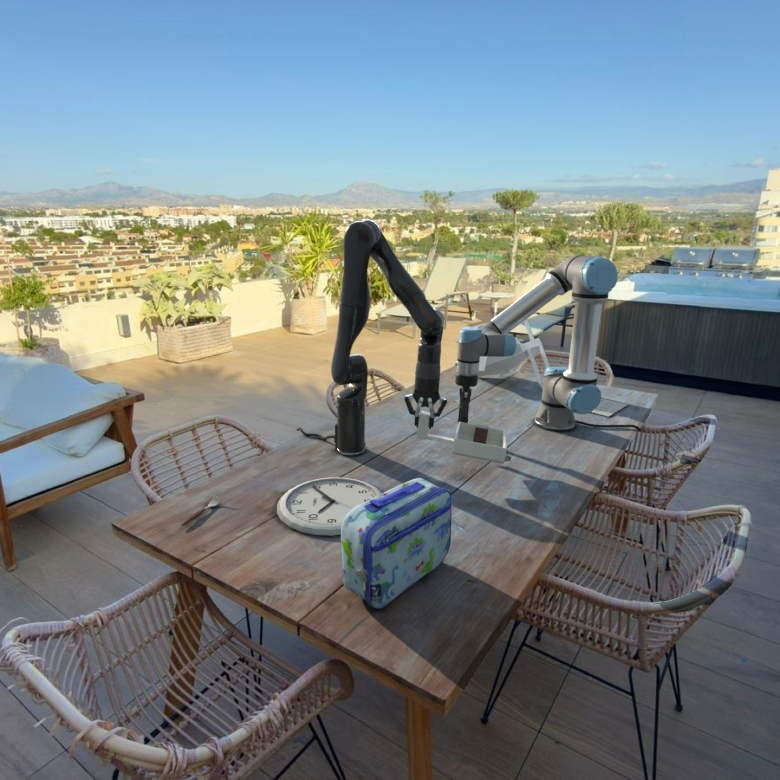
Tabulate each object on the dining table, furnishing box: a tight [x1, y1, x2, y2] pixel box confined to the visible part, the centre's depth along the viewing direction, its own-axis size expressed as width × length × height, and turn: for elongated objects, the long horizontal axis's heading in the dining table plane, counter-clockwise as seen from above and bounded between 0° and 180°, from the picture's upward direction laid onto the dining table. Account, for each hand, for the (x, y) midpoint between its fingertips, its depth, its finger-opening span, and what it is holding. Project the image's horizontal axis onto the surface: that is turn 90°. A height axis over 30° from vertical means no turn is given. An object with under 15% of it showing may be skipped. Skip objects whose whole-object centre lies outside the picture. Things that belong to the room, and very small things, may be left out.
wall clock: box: [276, 476, 383, 537], centre depth 143 cm, size 30×2×30 cm
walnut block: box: [473, 423, 489, 444], centre depth 167 cm, size 4×4×5 cm
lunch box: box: [340, 477, 452, 610], centre depth 110 cm, size 26×11×21 cm, turn 134°
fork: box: [180, 491, 225, 527], centre depth 138 cm, size 3×16×2 cm, turn 160°
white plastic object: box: [477, 318, 551, 390], centre depth 259 cm, size 37×45×31 cm
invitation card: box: [591, 398, 628, 418], centre depth 226 cm, size 21×1×15 cm
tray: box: [415, 410, 508, 465], centre depth 162 cm, size 27×21×8 cm
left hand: (423, 427), depth 165 cm, fingers closed on tray, 3 cm apart
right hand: (461, 431), depth 184 cm, fingers open, 13 cm apart
